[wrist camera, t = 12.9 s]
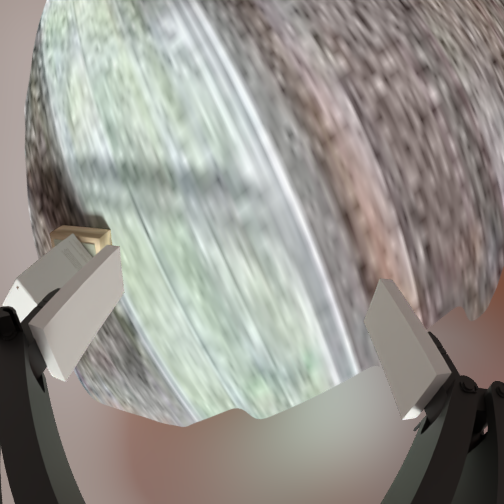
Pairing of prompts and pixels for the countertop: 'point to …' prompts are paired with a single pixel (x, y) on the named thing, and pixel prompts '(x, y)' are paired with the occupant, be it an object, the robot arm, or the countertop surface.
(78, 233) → the tan picture frame
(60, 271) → the supplement box
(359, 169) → the countertop surface
